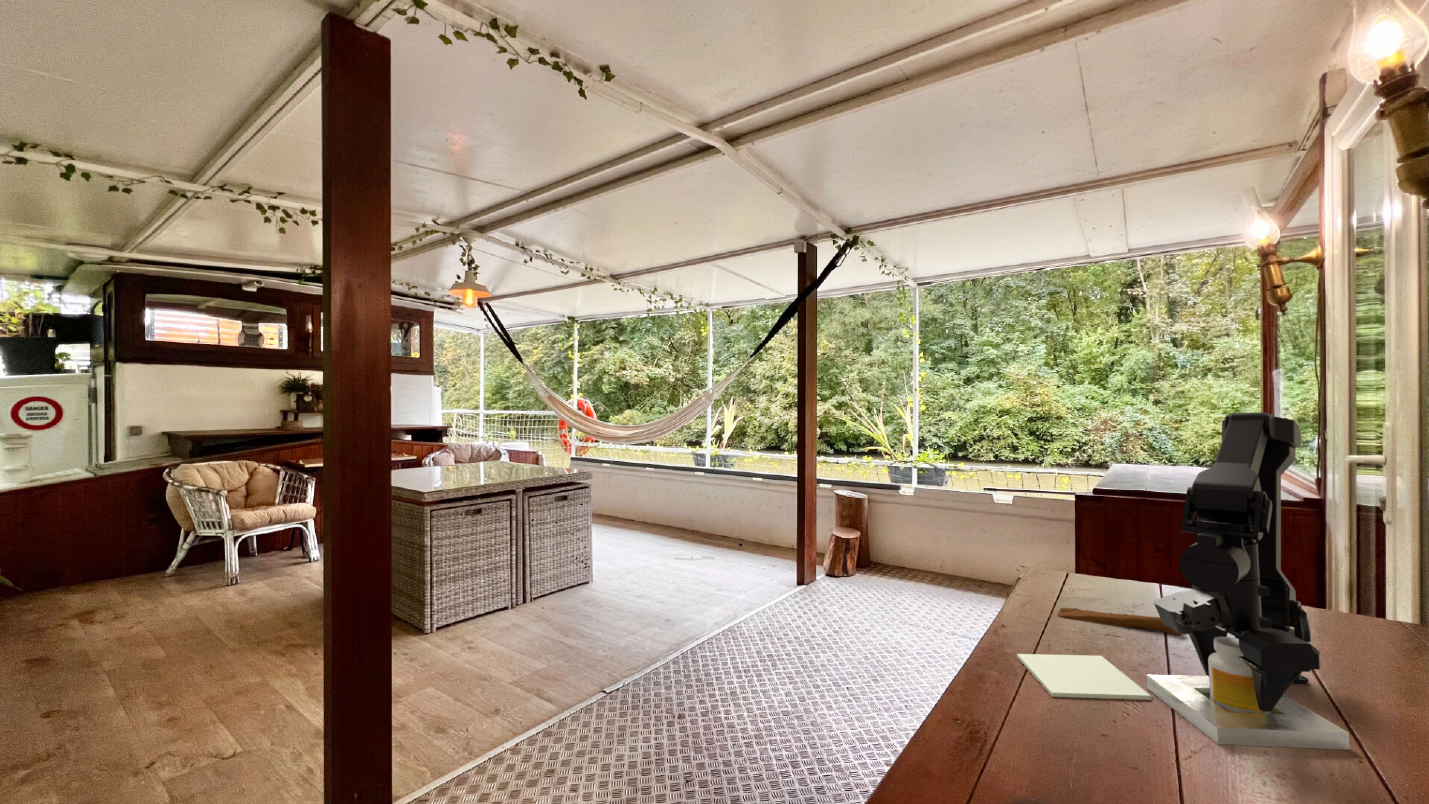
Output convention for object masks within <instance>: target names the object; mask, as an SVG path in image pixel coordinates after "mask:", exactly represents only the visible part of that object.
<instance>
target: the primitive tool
mask: <svg viewBox="0 0 1429 804" xmlns="http://www.w3.org/2000/svg"><path fill="white" fill-rule="evenodd" d="M1056 617H1057V618H1064V619H1068V618H1069V619H1070V620H1076V621H1084V622H1090V623H1091V622H1093V623H1099V624H1107V625H1112V626H1121V627H1124V628H1125V627H1126V628H1133V629H1141V630H1149V631H1155V632H1162V633H1167V634H1170V635H1173V636H1176V637H1180V636H1181V635H1182V634H1179V633H1177V632H1176V631H1175V630H1174V629H1172V628H1171V627H1169V626H1165V625H1164V624H1163V623H1162V620H1161V618H1160V616H1150V615H1149V616H1147V615H1136V614H1128V613H1124V614H1123V613H1113V612H1101V611H1093V610H1088V609H1087V610H1083V609H1079V608H1076V607H1072V608H1071V607H1061V608H1060V609H1059V611H1058V612H1057V614H1056Z"/></svg>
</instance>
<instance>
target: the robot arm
mask: <svg viewBox="0 0 1429 804" xmlns="http://www.w3.org/2000/svg"><path fill="white" fill-rule="evenodd" d="M1301 447H1302V432H1301V426H1300V425H1299V423H1297V422H1296V420H1295V419H1294V420H1293V419H1290V418H1288V417H1278V416H1275V415H1273V414H1272V413H1267V412H1265V411H1261V412H1260V411H1259V412H1254V411H1253V412H1232V413H1230V414H1226V415H1225V418H1224V419H1223V420H1221V443H1220V446H1219V450H1218V451H1217V452H1218V453H1217V456H1216V459H1215V461H1214V464H1213V465H1212V466H1211V467H1209V468H1207V469H1205V470H1202V471H1200V472H1198V473H1197V475H1196V478H1195V479H1194V481H1193V483H1192V485H1191V486H1188V487H1187V489H1186V494H1185V495H1186V496H1185V498H1184V499H1185V501H1184V506H1183V512H1182V520H1181V524H1180V525H1181V527H1180V531H1181V532H1182V533H1192V534H1195V543H1192V545H1190V546H1188V547H1186V548H1185V549H1184V550H1183V551H1181V554H1180V556H1179V559H1178V567H1179V571H1180V572H1181V575H1182V576H1183V577H1184V578H1185V580H1186V581H1188V583H1190V584H1191V589H1188V590H1185V591H1179V592H1175V593H1171V594H1168V595H1165V596H1163V597H1160V598H1157V599H1155V600H1154V601H1153V605H1154V606H1155V609H1156V611H1157V614H1158V617H1160V618H1161V620H1162V623H1163V624H1164V625H1165V626H1169V627H1171V628H1172V629H1174V630H1175V631H1176V632H1177V633H1179V634H1181V635H1188V636H1189V638H1190V640H1191V643H1192V644H1193V647H1194V649H1195V651H1196V654H1197V657H1198V659H1199V662H1200V663H1201V664H1200V665H1201V666H1202V669H1203V672H1204V674H1205V676H1208V677H1209V667H1208V658H1209V656H1210V655H1211V654H1212V653H1215V652H1217V651H1215V649H1214V638H1216V637H1228V634H1229V635H1231V636H1233V637H1234V638H1237V639H1239V649H1240V650H1241V652H1242V654H1243V655H1244V656H1239V658H1240V659H1241V660H1242V661H1243V662H1244V663H1245V664H1246V665H1248V666H1249V667H1250V668H1251V670H1252V675H1253V681H1254V687H1255V694H1256V699H1257V703H1258V707H1259V709H1260V710H1261V711H1263V712H1270V711H1272V709H1273V708H1274V707H1275V705H1276V704H1277V702H1278V701H1279V700H1280V698H1281V697H1282V695H1285V693H1286V691H1287V690H1288V688H1289V687H1290V686H1291V684H1293V683H1303V684H1304V683H1308V684H1309V682H1310V681H1309V678H1308V677H1306V676H1304V675H1302V673H1310V672H1311V671H1312V670H1321V668H1322V667H1321V664H1322V663H1321V652H1320V650H1319V649H1317V648H1316V647H1315V646H1314V645H1312V644H1311V642H1312V634H1311V632H1312V631H1311V626H1310V625H1311V624H1310V620H1309V617H1308V613H1307V612H1306V611H1305V610H1304V609H1303V606H1302V603H1301V601H1300V600H1299V601H1298V600H1297V598H1296V597H1297V595H1296V589H1295V588H1294V586H1293V585H1292V583H1291V582H1290V581H1289V579H1288V578H1287V577H1286V575H1285V574H1284V572H1282V569H1281V568H1282V567H1281V566H1282V564H1281V562H1282V561H1281V559H1282V557H1281V556H1282V555H1281V554H1282V547H1281V546H1282V545H1281V544H1282V543H1281V541H1282V540H1281V539H1282V537H1281V536H1282V533H1281V531H1282V526H1281V525H1282V520H1281V519H1282V516H1281V515H1282V475H1283V474H1284V473H1285V472H1286V471H1287V470H1288V469H1289V468H1290V467H1291V466H1292V464H1293V463H1295V461H1296V449H1298V448H1301ZM1195 517H1196V519H1197V520H1195Z"/></svg>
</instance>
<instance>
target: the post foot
mask: <svg viewBox="0 0 1429 804" xmlns="http://www.w3.org/2000/svg"><path fill="white" fill-rule="evenodd" d="M1146 685H1147V686H1146V687H1147V689H1148V690H1149V691H1150V692H1151V693H1152V694H1154V695H1155V696H1156V697H1157V698H1159V699H1161V700H1162V701H1163V702H1164V703H1165V704H1167V705H1168V706H1169V707H1170V708H1172V709H1173V710H1174V711H1175V712H1176V713H1178V714H1179V715H1181V716H1182V717H1183V718H1185V719H1186V720H1187V721H1188V722H1189V723H1190V724H1192V725H1193V726H1194V727H1195V728H1197V729H1198V730H1200V731H1201V732H1202V733H1204V734H1205V736H1207V737H1208V738H1209V739H1211V740H1212V741H1214V743H1216V744H1217V745H1227V746H1228V745H1230V746H1231V745H1233V746H1254V747H1272V748H1273V747H1275V748H1278V747H1280V748H1298V749H1299V748H1300V749H1302V748H1303V749H1326V750H1346V751H1347V750H1349V751H1350V750H1351V748H1350V746H1351V745H1350V735H1349V734H1350V733H1349V731H1347V730H1346V729H1343V728H1341V727H1339V725H1336V724H1334V723H1333V722H1332V721H1329V720H1328V719H1326V718H1325V717H1323V716H1321V715H1319V714H1318V713H1316V712H1314V711H1313V710H1311V709H1309V708H1307V707H1306V706H1304V705H1302V704H1300V703H1299V702H1297V701H1295V700H1293V699H1292V698H1290V697H1288V696H1287V695H1285V694H1283V695H1282V697H1281V698H1280V700H1279V701H1278V702H1277V704H1276V705H1275V707H1274V708H1273V709H1272V711H1270V712H1265V713H1266V714H1256V713H1228V712H1227V711H1225V710H1224V709H1222V708H1221V707H1220V706H1218V705H1217V704H1215V703H1214V702H1212V701H1211V700H1210V686H1209V677H1208V676H1207V675H1183V674H1182V675H1181V674H1178V675H1177V674H1146Z"/></svg>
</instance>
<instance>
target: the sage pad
mask: <svg viewBox="0 0 1429 804" xmlns="http://www.w3.org/2000/svg"><path fill="white" fill-rule="evenodd" d="M1016 658H1017V659H1018V661H1020V663H1022V665H1023V664H1024V665H1023V666H1024V667H1025V668H1026V670H1028V671H1029V672H1030V674H1031V673H1032V674H1031V675H1032V676H1033V677H1034V678H1035V679H1036V680H1037V682H1038V681H1039V682H1040V683H1041V684H1042V685H1041V684H1040V683H1039V682H1038V683H1039V684H1040V685H1041V686H1042V687H1043V688H1044V689H1045V690H1047V693H1048V694H1049V695H1050V696H1051V697H1054V698H1080V699H1081V698H1082V699H1086V698H1087V699H1112V700H1140V701H1141V700H1144V701H1145V700H1147V701H1151V700H1152V696H1151V694H1150V693H1148V692H1147V691H1146V690H1144V689H1143V688H1142V687H1141V686H1140V685H1138V684H1137V683H1136V682H1134V681H1133V680H1132V679H1131V678H1130V677H1129V676H1127V675H1126V674H1125V673H1124V672H1122V671H1121V670H1119V668H1117V667H1116V666H1115V665H1113V664H1112V663H1111V662H1110V661H1108V660H1107V659H1106V658H1105V657H1103V655H1087V654H1086V655H1084V654H1083V655H1077V654H1044V653H1043V654H1040V653H1039V654H1037V653H1035V654H1033V653H1032V654H1031V653H1030V654H1029V653H1017V654H1016Z"/></svg>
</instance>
